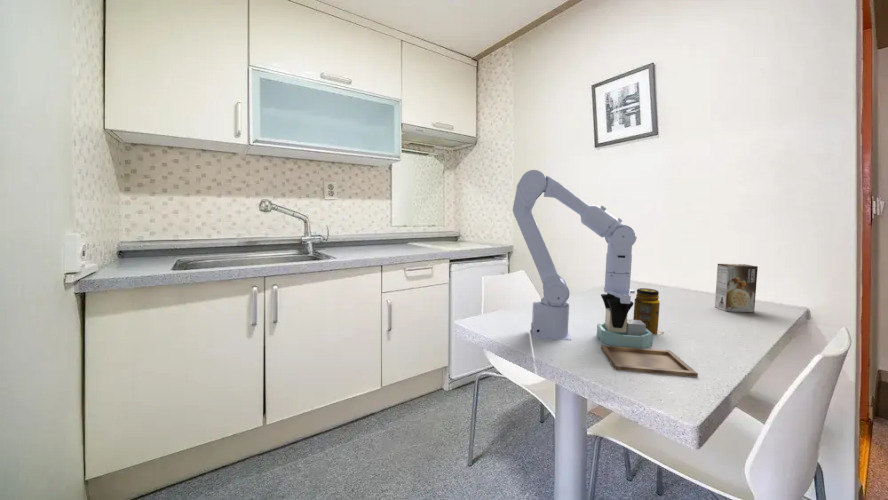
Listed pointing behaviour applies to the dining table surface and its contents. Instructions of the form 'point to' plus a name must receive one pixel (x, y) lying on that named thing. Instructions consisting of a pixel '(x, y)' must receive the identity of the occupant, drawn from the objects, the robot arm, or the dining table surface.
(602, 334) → the bowl
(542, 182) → the robot arm
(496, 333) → the dining table surface
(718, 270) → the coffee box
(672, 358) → the tray
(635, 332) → the grey block
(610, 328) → the beige block
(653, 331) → the condiment
